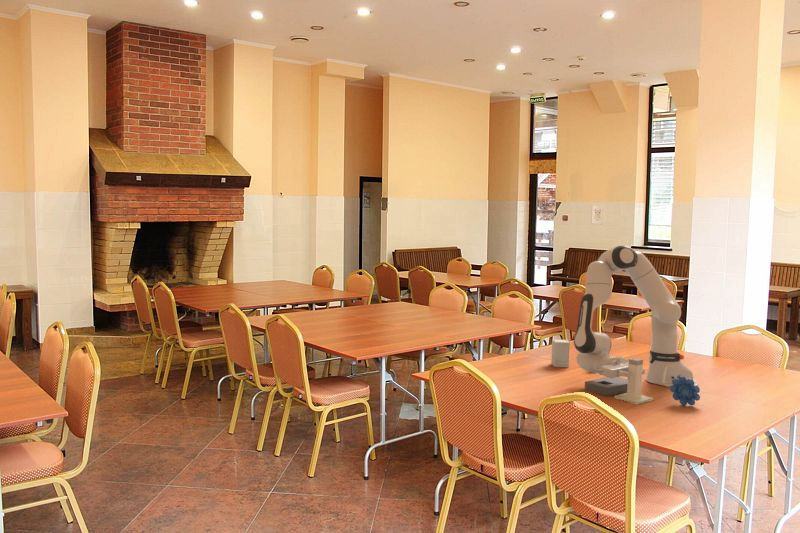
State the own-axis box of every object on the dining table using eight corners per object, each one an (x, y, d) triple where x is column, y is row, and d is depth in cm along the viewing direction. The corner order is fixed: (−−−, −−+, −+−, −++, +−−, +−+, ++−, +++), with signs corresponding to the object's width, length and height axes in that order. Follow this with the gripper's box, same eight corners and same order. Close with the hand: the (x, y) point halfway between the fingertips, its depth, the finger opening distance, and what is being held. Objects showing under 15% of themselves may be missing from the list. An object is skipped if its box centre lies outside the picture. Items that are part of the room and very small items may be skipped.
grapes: (669, 406, 275) (670, 377, 274) (668, 402, 281) (670, 373, 280) (700, 410, 271) (702, 380, 270) (699, 405, 278) (700, 376, 276)
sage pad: (630, 394, 292) (630, 391, 292) (653, 400, 283) (653, 398, 283) (614, 398, 286) (614, 395, 286) (636, 404, 277) (636, 402, 277)
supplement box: (569, 367, 338) (570, 342, 336) (554, 367, 338) (555, 342, 337) (565, 364, 345) (566, 339, 344) (551, 363, 345) (552, 339, 344)
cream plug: (632, 395, 287) (634, 357, 286) (640, 397, 284) (642, 359, 282) (626, 396, 285) (628, 359, 283) (634, 398, 282) (636, 360, 280)
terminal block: (613, 383, 310) (614, 375, 309) (636, 389, 300) (636, 381, 299) (584, 389, 298) (584, 381, 298) (606, 396, 288) (607, 388, 288)
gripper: (594, 362, 288) (621, 369, 276) (624, 356, 299) (652, 363, 288) (593, 376, 288) (620, 384, 277) (623, 370, 300) (651, 377, 289)
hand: (636, 373), depth 283 cm, fingers open, 8 cm apart
